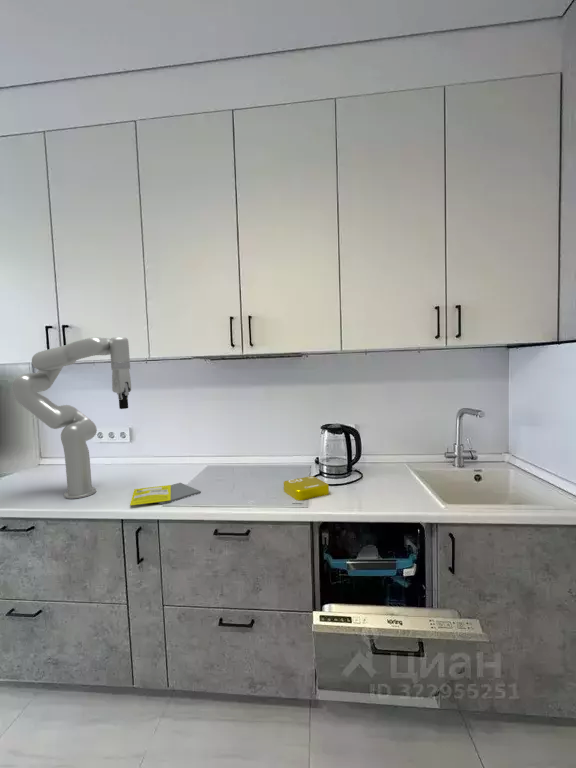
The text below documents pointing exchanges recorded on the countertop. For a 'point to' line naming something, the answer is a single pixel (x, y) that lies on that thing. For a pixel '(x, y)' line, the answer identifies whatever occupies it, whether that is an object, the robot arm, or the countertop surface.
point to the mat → (180, 492)
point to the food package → (151, 495)
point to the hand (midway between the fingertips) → (123, 408)
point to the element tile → (306, 488)
